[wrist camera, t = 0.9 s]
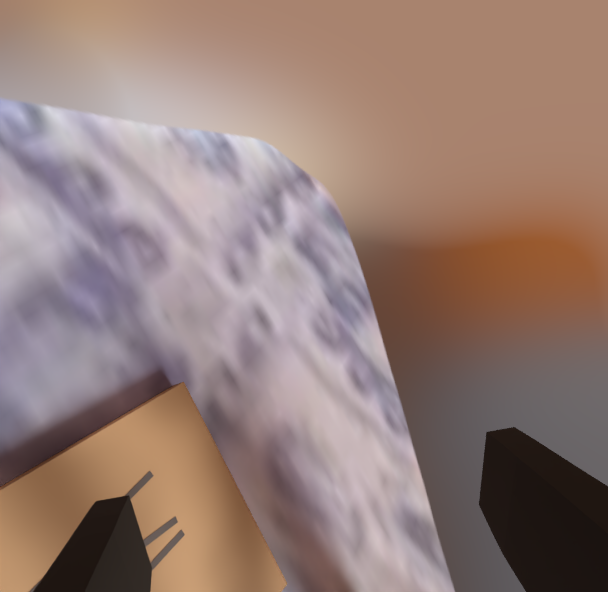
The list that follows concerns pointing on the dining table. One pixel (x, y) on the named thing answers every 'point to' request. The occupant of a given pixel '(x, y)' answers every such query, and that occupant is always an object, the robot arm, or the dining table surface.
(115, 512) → the robot arm
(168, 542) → the oak board
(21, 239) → the dining table surface
